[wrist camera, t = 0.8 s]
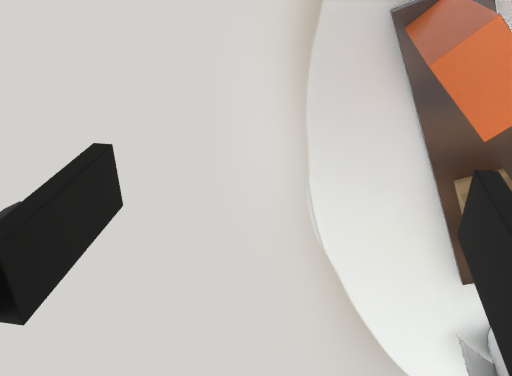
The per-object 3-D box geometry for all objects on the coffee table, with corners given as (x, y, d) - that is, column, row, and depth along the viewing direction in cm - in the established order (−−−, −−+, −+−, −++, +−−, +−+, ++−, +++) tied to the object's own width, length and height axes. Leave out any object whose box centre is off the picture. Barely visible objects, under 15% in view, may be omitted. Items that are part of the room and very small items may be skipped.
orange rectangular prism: (404, 28, 30) (428, 65, 21) (452, -11, 28) (500, 13, 19) (445, 85, 31) (484, 142, 22) (494, 51, 29) (556, 99, 21)
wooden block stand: (390, 10, 30) (411, 44, 21) (486, -27, 28) (557, -8, 19) (460, 277, 40) (496, 384, 30) (535, 264, 38) (598, 374, 28)
